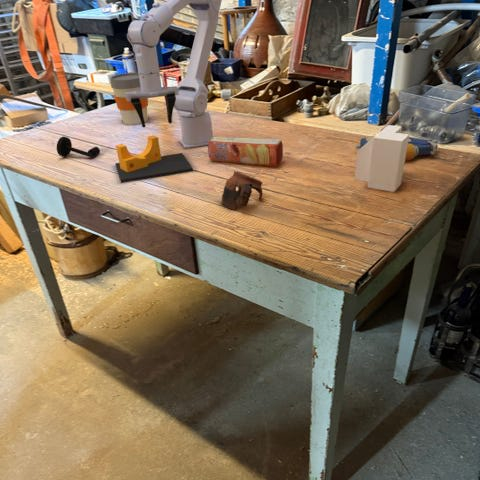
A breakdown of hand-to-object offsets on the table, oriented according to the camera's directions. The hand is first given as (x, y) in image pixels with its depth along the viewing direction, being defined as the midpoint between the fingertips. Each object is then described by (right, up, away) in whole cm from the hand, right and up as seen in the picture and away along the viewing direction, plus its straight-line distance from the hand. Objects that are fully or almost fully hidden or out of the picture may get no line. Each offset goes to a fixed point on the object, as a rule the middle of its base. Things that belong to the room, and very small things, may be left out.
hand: (157, 124), depth 136 cm
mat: (-1, -13, -1) cm, 13 cm away
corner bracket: (+59, -21, -17) cm, 65 cm away
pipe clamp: (-4, -12, -1) cm, 13 cm away
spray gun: (+68, -10, -2) cm, 69 cm away
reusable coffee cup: (-15, +17, +39) cm, 45 cm away
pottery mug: (+25, -29, -23) cm, 45 cm away
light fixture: (-25, -4, +12) cm, 28 cm away
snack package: (+26, -12, -1) cm, 28 cm away
